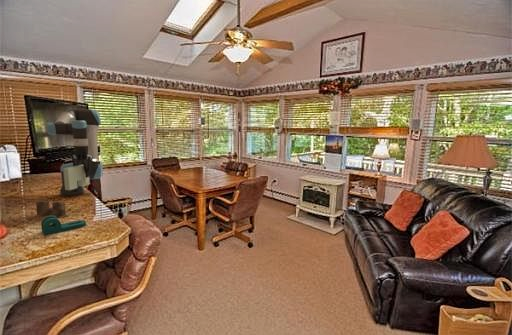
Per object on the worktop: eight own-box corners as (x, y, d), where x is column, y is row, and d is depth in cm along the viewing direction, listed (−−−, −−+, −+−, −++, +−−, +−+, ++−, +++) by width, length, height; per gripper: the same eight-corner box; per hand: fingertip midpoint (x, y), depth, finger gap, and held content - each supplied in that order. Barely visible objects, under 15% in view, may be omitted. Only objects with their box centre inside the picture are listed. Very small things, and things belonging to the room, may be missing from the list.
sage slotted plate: (69, 190, 155) (67, 168, 153) (65, 189, 156) (63, 168, 154) (89, 184, 171) (88, 164, 169) (85, 184, 171) (83, 164, 169)
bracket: (44, 236, 126) (43, 220, 124) (42, 232, 130) (40, 217, 129) (87, 226, 139) (86, 212, 137) (84, 223, 143) (82, 209, 142)
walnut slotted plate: (37, 214, 153) (35, 201, 152) (41, 213, 155) (39, 200, 154) (62, 216, 151) (60, 203, 150) (65, 215, 154) (64, 202, 152)
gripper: (64, 145, 161) (67, 182, 165) (88, 146, 160) (91, 184, 163) (73, 144, 169) (76, 180, 173) (97, 145, 167) (99, 181, 171)
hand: (83, 182), depth 168 cm, fingers closed on sage slotted plate, 3 cm apart
